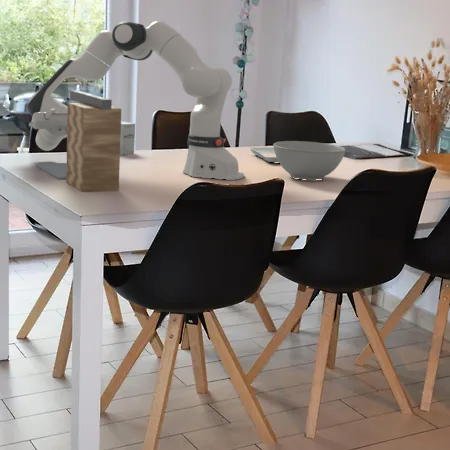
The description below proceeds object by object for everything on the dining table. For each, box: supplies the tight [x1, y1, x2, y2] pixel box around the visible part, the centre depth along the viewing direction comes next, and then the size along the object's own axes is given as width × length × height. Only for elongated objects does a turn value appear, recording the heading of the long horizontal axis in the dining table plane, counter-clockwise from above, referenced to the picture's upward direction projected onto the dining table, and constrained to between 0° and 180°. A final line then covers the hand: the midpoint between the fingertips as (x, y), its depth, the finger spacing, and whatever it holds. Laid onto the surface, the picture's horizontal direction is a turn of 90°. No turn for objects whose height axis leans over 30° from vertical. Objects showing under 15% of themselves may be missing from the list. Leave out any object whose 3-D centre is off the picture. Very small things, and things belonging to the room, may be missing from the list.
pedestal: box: [65, 102, 122, 193], centre depth 253 cm, size 16×12×26 cm
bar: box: [69, 89, 113, 110], centre depth 253 cm, size 30×3×3 cm, turn 29°
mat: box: [35, 162, 67, 180], centre depth 278 cm, size 26×14×1 cm, turn 29°
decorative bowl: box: [272, 140, 346, 180], centre depth 295 cm, size 27×27×12 cm
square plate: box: [248, 146, 279, 163], centre depth 337 cm, size 27×27×4 cm
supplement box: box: [120, 121, 136, 156], centre depth 325 cm, size 7×7×13 cm
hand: (66, 111), depth 273 cm, fingers open, 8 cm apart
